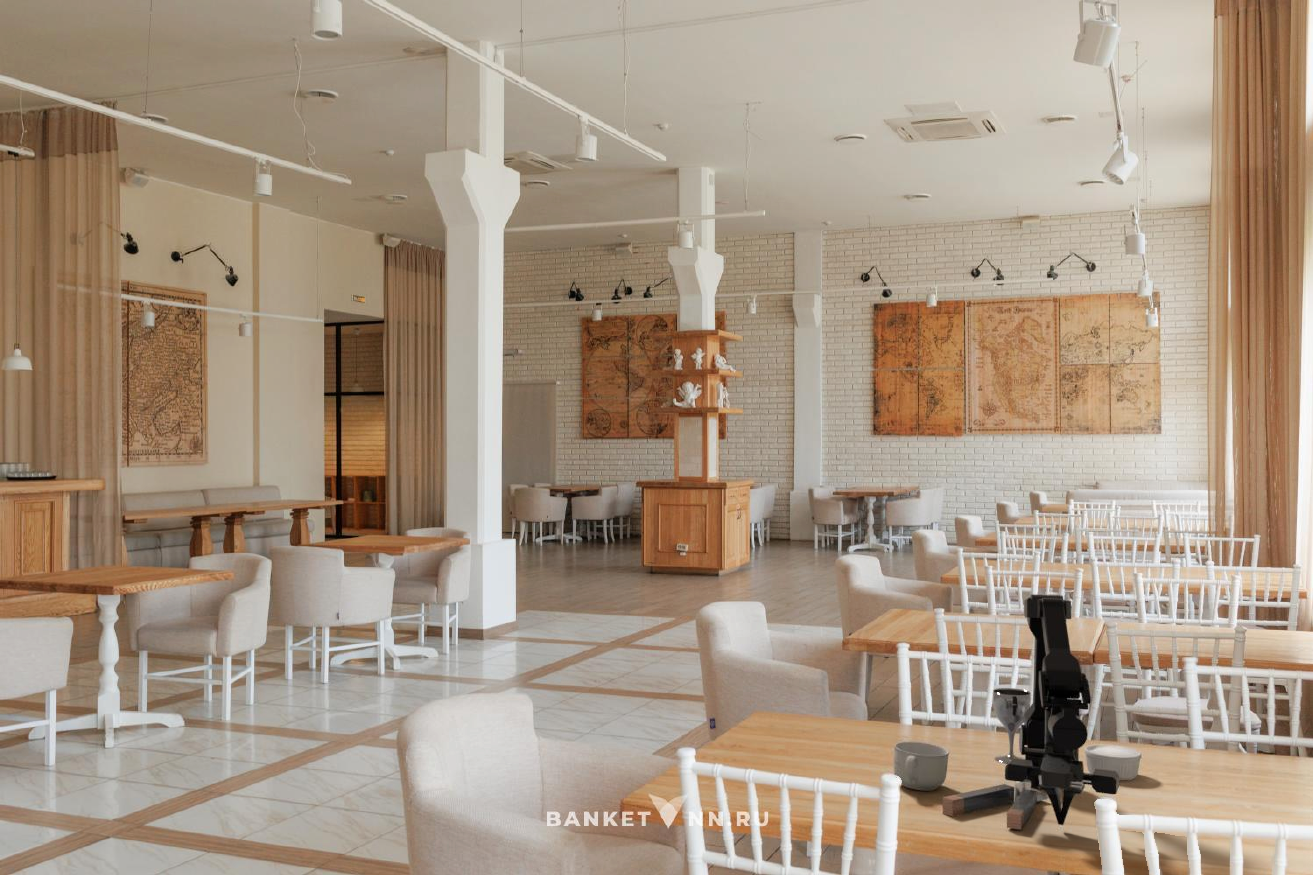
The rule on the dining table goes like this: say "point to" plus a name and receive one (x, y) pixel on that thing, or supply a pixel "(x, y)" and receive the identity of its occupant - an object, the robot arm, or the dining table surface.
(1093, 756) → the ramekin
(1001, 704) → the wine glass
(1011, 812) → the tongs arm
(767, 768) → the dining table surface
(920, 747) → the teacup
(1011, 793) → the base
